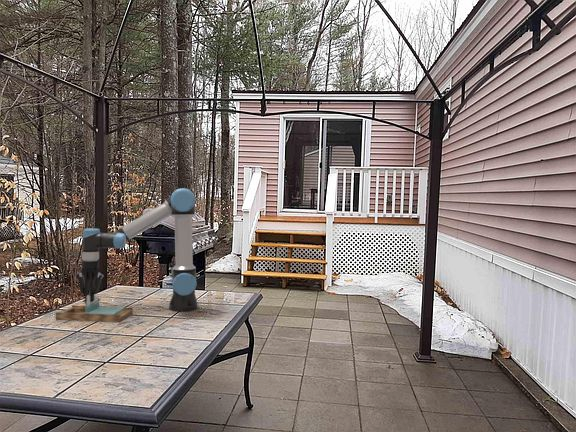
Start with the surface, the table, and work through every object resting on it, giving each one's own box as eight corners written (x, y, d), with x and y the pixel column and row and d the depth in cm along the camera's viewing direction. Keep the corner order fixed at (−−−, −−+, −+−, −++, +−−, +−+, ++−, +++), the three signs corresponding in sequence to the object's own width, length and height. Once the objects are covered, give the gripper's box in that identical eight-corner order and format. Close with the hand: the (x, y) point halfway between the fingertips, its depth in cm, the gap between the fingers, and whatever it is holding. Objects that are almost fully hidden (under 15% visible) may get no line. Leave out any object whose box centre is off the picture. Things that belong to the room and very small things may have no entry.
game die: (93, 315, 219) (94, 302, 213) (78, 309, 219) (79, 296, 214) (103, 304, 226) (104, 291, 221) (89, 297, 227) (90, 285, 221)
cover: (124, 309, 209) (124, 302, 209) (113, 315, 196) (113, 308, 196) (96, 308, 209) (97, 301, 209) (84, 314, 197) (84, 307, 196)
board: (132, 314, 210) (132, 307, 210) (119, 322, 195) (120, 315, 195) (72, 311, 211) (72, 305, 211) (55, 319, 196) (55, 312, 196)
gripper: (107, 259, 206) (106, 306, 207) (81, 258, 206) (80, 305, 207) (100, 261, 199) (98, 310, 199) (73, 260, 199) (72, 309, 199)
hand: (89, 308), depth 203 cm, fingers closed
